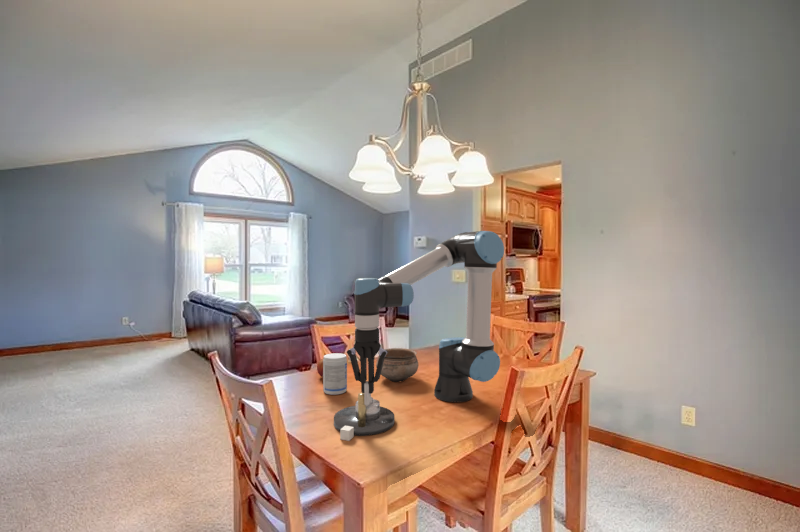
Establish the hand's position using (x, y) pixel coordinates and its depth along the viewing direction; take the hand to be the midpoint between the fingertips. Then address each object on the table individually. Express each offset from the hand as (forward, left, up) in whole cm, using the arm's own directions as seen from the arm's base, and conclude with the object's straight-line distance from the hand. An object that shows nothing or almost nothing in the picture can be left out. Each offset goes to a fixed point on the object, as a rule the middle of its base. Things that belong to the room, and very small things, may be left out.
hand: (367, 403), depth 124 cm
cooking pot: (+10, -54, -10) cm, 55 cm away
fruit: (+40, -45, -10) cm, 61 cm away
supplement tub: (+28, -30, -10) cm, 42 cm away
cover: (+3, -7, -7) cm, 11 cm away
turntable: (+4, -7, -9) cm, 12 cm away
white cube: (+4, +6, -9) cm, 12 cm away
